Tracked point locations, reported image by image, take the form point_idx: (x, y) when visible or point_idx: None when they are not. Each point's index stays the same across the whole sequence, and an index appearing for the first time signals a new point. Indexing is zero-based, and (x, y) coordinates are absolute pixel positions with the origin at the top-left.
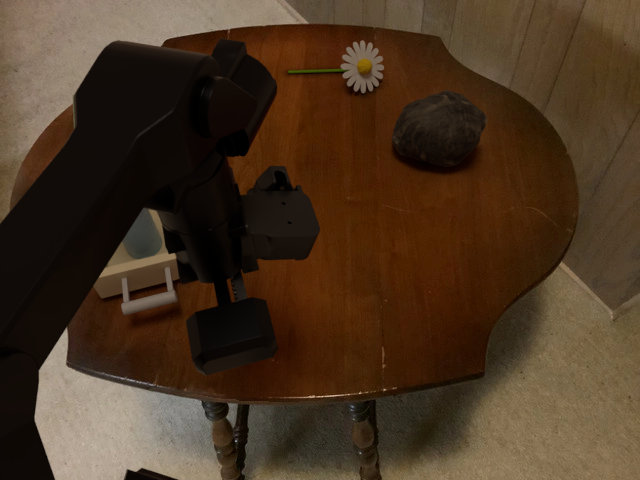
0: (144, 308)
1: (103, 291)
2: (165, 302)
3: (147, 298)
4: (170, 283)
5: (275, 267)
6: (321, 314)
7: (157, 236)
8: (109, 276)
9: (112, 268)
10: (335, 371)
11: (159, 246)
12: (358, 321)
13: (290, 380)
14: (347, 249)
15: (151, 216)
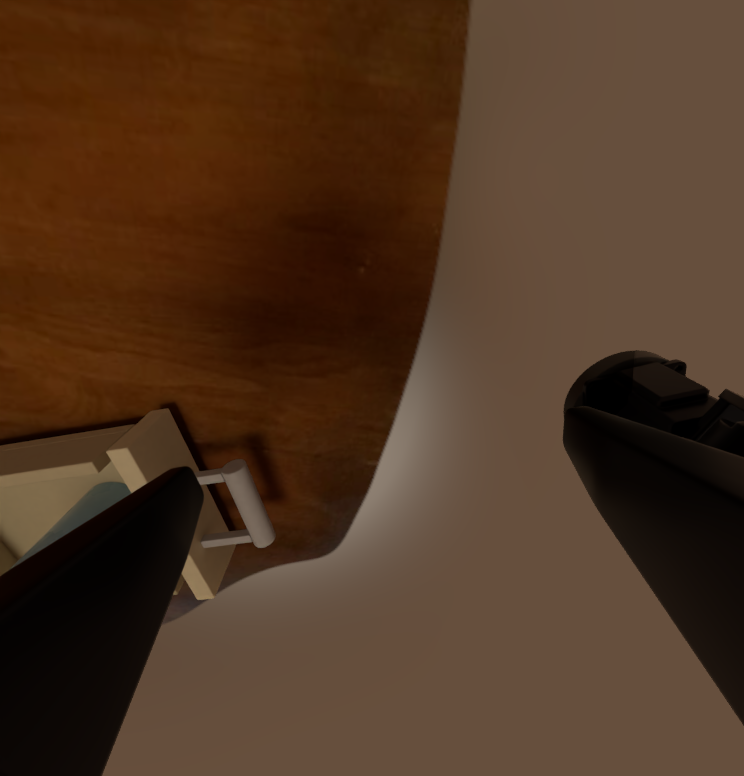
0: (263, 512)
1: (226, 554)
2: (250, 484)
3: (244, 514)
4: (206, 478)
5: (128, 253)
6: (251, 138)
7: (97, 504)
8: (203, 572)
9: (186, 572)
10: (407, 115)
11: (120, 488)
12: (270, 17)
13: (412, 234)
14: (24, 18)
15: (43, 544)
